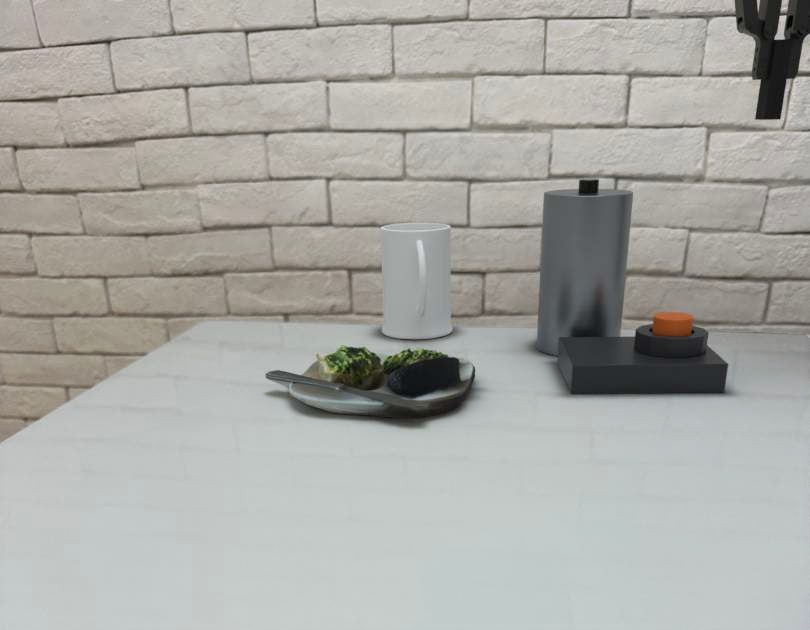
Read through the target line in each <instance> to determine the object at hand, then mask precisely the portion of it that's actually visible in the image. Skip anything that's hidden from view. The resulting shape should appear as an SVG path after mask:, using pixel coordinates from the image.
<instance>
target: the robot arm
mask: <svg viewBox="0 0 810 630" xmlns="http://www.w3.org/2000/svg"><path fill="white" fill-rule="evenodd" d="M782 4H783V0H759V5H758V0H734V10H735V11H734V12H735V23H736V30H737V32H738V34H739V33H740V34H745V35H746V36H749V37H751V38H752V39H753V40H754V43H755V44H754V45H755V46H754V53H753V61H752V68H751V78H752V81H760V82H759V90H758V95H757V96H758V97H757V103H756V110H755V117H754V120H757V121H758V120H760V121H762V120H763V121H768V120H769V121H770V120H781V118H782V111H783V106H784V99H785V93H786V86H787V80H793V79H795V80H796V77H797V75H798V74H799V68H800V64H801V63H800V62H801V56H802V50H803V43H804V41H805V39H806V38H807V36H809V35H810V0H788V1H787V9H786V15H785V16H786V17H785V23H784V29H783V37H784V39H775V38H776V36H777V34H778V31H779V25H780V24H779V23H780V18H781V11H782Z"/></svg>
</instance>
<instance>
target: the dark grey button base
mask: <svg viewBox="0 0 810 630" xmlns="http://www.w3.org/2000/svg"><path fill="white" fill-rule="evenodd" d="M652 329H653V323H650V324H644V325H640V326H639V327H637V328H636V329H635V333H634V336H620V337H559V340H558V356H556V359H557V360H556V364H557V366H558V368H559V370H560V372H561V375H562V377H563V380H564V381H565V384H566V386H567V388H568V391H569V393H570V394H571V395H581V394H583V395H584V394H587V395H594V394H595V395H596V394H598V395H599V394H600V395H601V394H602V395H603V394H605V395H606V394H608V395H609V394H714V393H715V394H718V393H719V394H721V393H722V394H724V393H725V390H726V389H725V388H726V383H727V382H726V381H727V375H728V371H729V370H728V369H729V363H728V362H727V361H726V360H724V358H722V357H721V356H720V355H719V354H718V353H716V351H714V349H712V348H711V347H710V346H709V345H708V341H709V340H708V339H709V334H710V333H709V331H707V329H705V328H703V327H700V326H696V325H692V332H691V335H685V336H668V335H659V334H655V333H652Z"/></svg>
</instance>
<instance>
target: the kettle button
mask: <svg viewBox="0 0 810 630" xmlns="http://www.w3.org/2000/svg"><path fill="white" fill-rule="evenodd" d="M652 324H653V329H652V333H655V334H659V335H668V336H685V335H691V332H692V326H693V324H694V316H693V315H692V314H690V313H686V312H678V311H663V312H658V313H655V314H654V315H653V321H652Z"/></svg>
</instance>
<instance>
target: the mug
mask: <svg viewBox="0 0 810 630" xmlns="http://www.w3.org/2000/svg"><path fill="white" fill-rule="evenodd" d="M451 229H452V227H451V225H450V224H448V223H447V224H446V223H441V222H439V223H438V222H400V223H392V224H391V223H390V224H386V225H383V226H381V227H380V251H381V252H380V254H381V256H380V258H381V283H382V285H381V287H382V325H381V333H382V334H383V335H385V336H387V337H388V338H395V339H399V340H428V339H429V340H430V339H437V338H442V337H445V336H447V335H450V334H451V333H452V332H453V326H452V315H451V312H452V311H451V280H452V279H451V278H452V277H451V273H452V272H451V269H452V268H451V267H452V265H451V264H452V263H451V262H452V261H451V259H452V258H451V255H452V254H451V253H452V252H451V250H452V249H451V246H452V245H451V244H452V243H451V241H452V237H451V235H452V233H451V232H452V230H451Z"/></svg>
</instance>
